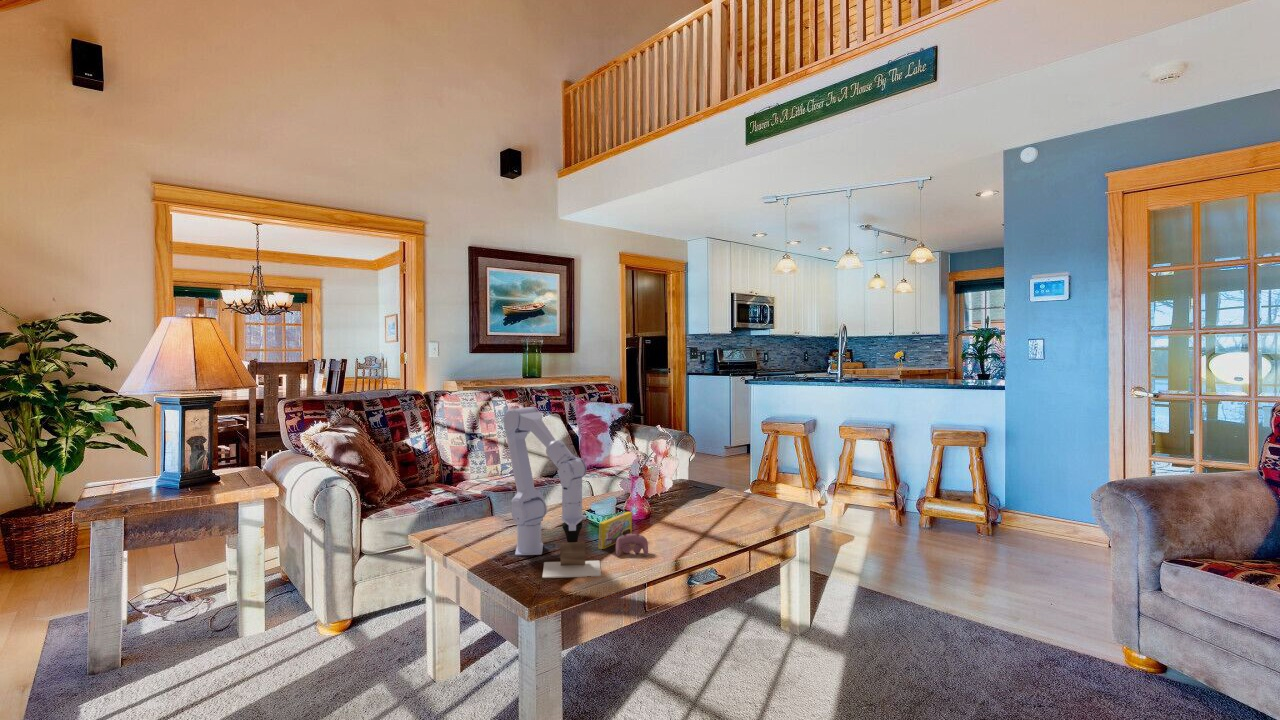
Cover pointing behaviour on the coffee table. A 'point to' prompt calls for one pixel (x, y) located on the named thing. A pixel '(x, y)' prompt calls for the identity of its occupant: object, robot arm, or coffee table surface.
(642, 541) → the video game controller
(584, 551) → the brown block
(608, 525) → the candy box
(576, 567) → the mat
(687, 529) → the coffee table surface
